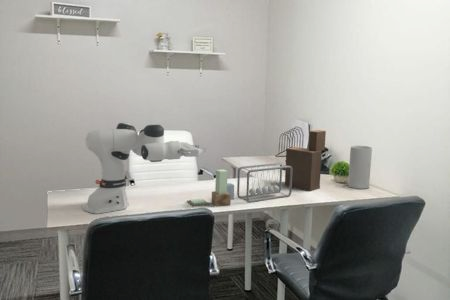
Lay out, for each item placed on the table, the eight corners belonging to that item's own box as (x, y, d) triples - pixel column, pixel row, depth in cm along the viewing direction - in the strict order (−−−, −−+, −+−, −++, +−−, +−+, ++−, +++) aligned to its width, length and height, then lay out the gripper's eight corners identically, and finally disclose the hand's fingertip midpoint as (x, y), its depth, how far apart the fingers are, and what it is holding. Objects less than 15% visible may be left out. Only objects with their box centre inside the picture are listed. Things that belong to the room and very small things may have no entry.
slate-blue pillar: (226, 200, 226) (226, 185, 225) (223, 197, 230) (223, 183, 229) (233, 199, 228) (234, 185, 226) (230, 197, 232) (230, 183, 231)
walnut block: (215, 206, 214) (215, 195, 213) (211, 202, 222) (211, 191, 221) (230, 205, 216) (230, 194, 215) (226, 201, 224) (226, 190, 223)
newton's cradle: (246, 203, 221) (247, 170, 218) (236, 198, 230) (237, 166, 227) (291, 196, 236) (293, 165, 233) (280, 192, 245) (281, 162, 242)
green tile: (192, 206, 214) (192, 204, 213) (187, 201, 222) (187, 199, 222) (209, 204, 217) (209, 202, 217) (202, 199, 225) (203, 197, 225)
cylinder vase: (343, 185, 263) (346, 146, 259) (358, 183, 268) (361, 145, 264) (358, 190, 252) (361, 149, 248) (373, 188, 258) (376, 148, 253)
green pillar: (219, 194, 215) (219, 171, 213) (215, 192, 219) (215, 169, 217) (226, 193, 217) (227, 171, 215) (222, 191, 221) (223, 169, 219)
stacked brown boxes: (323, 187, 257) (326, 130, 251) (310, 191, 247) (313, 132, 241) (297, 181, 270) (300, 127, 264) (284, 185, 260) (286, 129, 254)
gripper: (182, 147, 194) (209, 145, 200) (169, 140, 212) (194, 139, 218) (182, 160, 195) (209, 158, 201) (169, 152, 214) (194, 151, 219)
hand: (201, 148), depth 210 cm, fingers open, 8 cm apart
